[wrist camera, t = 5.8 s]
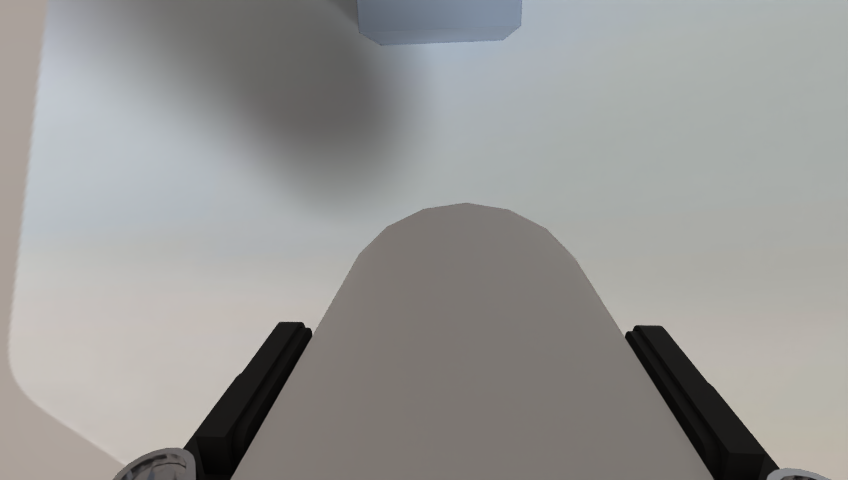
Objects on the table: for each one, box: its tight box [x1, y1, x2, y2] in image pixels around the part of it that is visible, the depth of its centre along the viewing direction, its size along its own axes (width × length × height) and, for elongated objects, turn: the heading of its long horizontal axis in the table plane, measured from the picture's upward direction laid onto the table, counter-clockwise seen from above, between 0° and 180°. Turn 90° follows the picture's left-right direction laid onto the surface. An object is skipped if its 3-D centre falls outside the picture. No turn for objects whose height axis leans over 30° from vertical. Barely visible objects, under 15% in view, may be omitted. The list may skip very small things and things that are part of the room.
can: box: [231, 203, 714, 480], centre depth 9 cm, size 8×8×12 cm
